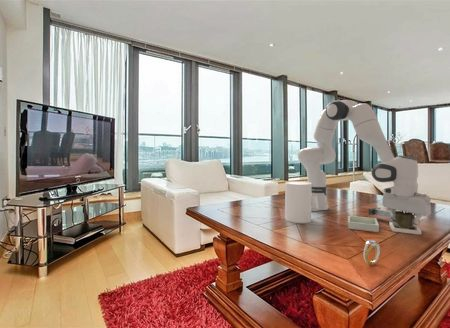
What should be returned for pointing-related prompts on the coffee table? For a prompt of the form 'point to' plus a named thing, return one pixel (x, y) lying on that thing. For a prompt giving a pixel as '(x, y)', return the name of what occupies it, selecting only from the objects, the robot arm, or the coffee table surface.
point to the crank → (385, 214)
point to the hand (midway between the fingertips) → (404, 220)
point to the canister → (298, 201)
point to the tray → (363, 223)
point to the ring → (366, 252)
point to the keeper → (416, 231)
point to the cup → (404, 219)
